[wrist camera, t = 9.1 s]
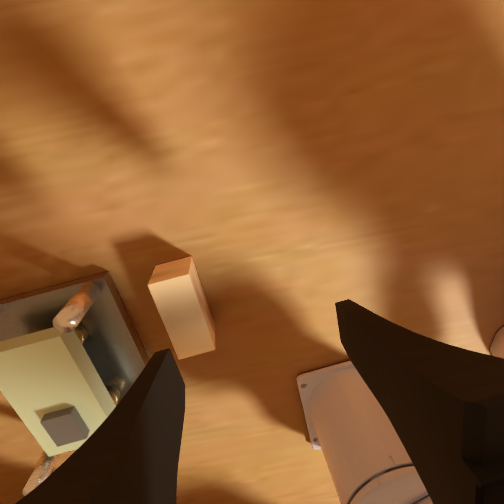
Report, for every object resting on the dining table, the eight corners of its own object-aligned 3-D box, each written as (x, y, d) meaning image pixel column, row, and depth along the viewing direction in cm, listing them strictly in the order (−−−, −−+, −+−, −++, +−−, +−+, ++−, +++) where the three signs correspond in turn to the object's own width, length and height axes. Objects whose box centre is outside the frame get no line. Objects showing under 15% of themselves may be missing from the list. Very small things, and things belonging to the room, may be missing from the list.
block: (214, 324, 24) (215, 349, 21) (182, 333, 24) (178, 359, 21) (191, 256, 22) (188, 273, 19) (155, 265, 21) (147, 285, 19)
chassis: (170, 404, 26) (160, 462, 21) (54, 436, 26) (20, 502, 21) (108, 271, 21) (79, 309, 17) (-35, 309, 21) (-105, 358, 16)
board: (123, 420, 23) (116, 445, 21) (58, 438, 23) (44, 465, 21) (70, 322, 20) (55, 342, 18) (-8, 343, 19) (-31, 365, 18)
